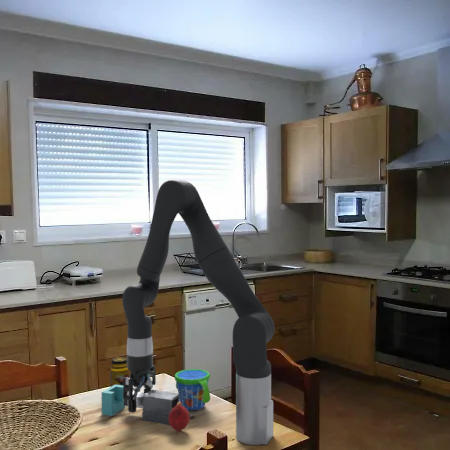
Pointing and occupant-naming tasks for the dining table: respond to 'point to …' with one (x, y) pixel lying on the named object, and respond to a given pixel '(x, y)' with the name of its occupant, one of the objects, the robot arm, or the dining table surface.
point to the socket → (112, 400)
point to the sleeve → (158, 406)
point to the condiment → (118, 371)
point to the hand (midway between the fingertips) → (140, 406)
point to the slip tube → (138, 400)
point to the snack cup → (193, 388)
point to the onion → (179, 417)
